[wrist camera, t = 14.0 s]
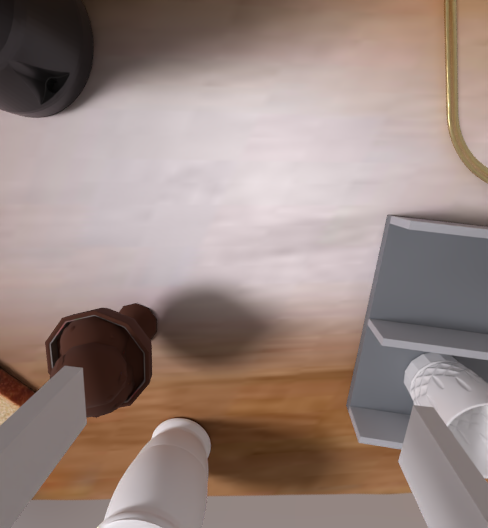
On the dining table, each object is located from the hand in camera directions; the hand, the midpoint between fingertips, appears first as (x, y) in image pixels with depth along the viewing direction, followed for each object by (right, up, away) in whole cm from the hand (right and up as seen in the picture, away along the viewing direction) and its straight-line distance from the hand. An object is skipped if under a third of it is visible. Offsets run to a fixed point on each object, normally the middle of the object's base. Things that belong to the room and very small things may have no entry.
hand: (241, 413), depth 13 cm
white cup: (+22, -7, +25) cm, 34 cm away
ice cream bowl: (-14, -2, +28) cm, 32 cm away
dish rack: (+23, -1, +25) cm, 34 cm away
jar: (-9, -19, +32) cm, 38 cm away
